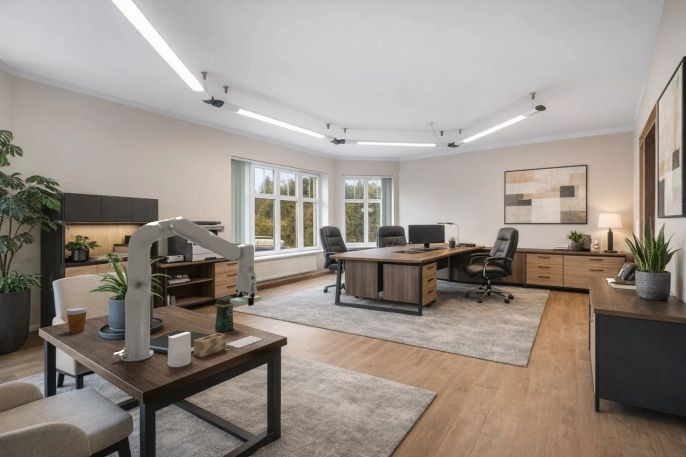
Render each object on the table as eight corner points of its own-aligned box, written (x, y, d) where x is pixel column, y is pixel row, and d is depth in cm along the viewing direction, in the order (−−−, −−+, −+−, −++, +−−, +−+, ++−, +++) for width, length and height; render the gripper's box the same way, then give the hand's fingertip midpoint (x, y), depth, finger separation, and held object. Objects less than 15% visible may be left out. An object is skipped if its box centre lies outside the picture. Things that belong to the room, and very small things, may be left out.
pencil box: (200, 357, 158) (200, 342, 158) (194, 355, 161) (194, 339, 161) (225, 349, 169) (225, 334, 169) (218, 347, 171) (218, 332, 171)
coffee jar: (223, 333, 193) (223, 299, 193) (212, 330, 196) (213, 297, 196) (236, 328, 202) (236, 295, 201) (225, 326, 205) (226, 294, 205)
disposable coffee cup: (70, 329, 195) (70, 307, 194) (90, 327, 198) (90, 306, 197) (62, 334, 186) (62, 311, 185) (83, 332, 188) (83, 310, 188)
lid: (239, 305, 171) (239, 301, 171) (229, 302, 175) (229, 299, 175) (261, 300, 183) (261, 296, 183) (251, 298, 187) (251, 294, 187)
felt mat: (238, 348, 170) (238, 347, 170) (226, 344, 175) (226, 343, 175) (263, 339, 183) (263, 339, 183) (251, 336, 188) (251, 335, 188)
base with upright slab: (176, 368, 146) (177, 339, 146) (163, 364, 150) (163, 335, 150) (195, 361, 154) (195, 333, 154) (181, 357, 158) (182, 330, 158)
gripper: (264, 269, 177) (263, 305, 177) (240, 266, 187) (240, 300, 187) (252, 271, 171) (251, 308, 171) (228, 268, 180) (228, 303, 181)
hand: (245, 304), depth 179 cm, fingers closed on lid, 7 cm apart
